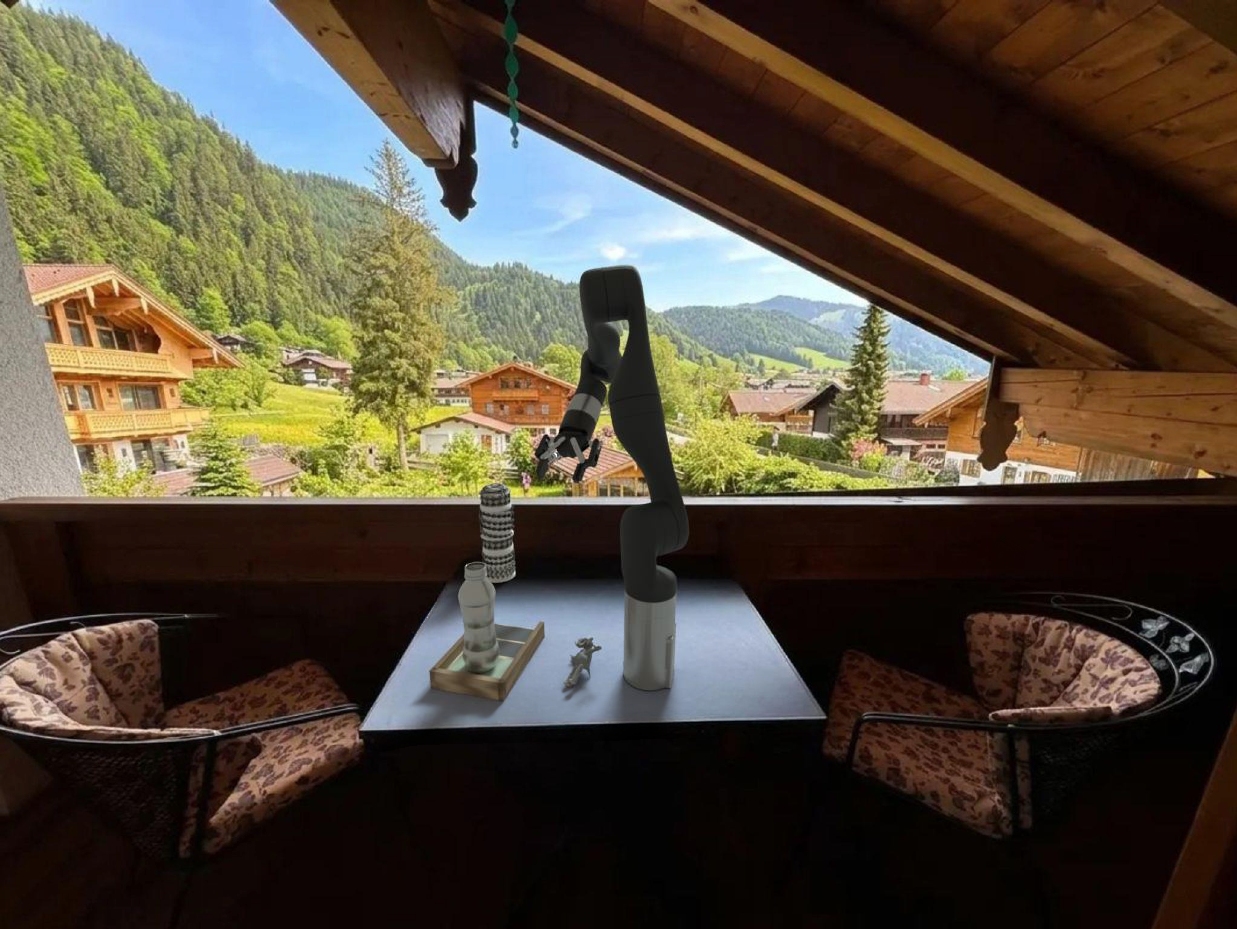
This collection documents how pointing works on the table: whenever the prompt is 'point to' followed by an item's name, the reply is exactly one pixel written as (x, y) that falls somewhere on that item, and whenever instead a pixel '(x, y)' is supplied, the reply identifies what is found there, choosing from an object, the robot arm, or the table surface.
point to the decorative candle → (497, 532)
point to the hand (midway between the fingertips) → (557, 479)
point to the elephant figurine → (582, 659)
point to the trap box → (500, 679)
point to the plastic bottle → (478, 619)
